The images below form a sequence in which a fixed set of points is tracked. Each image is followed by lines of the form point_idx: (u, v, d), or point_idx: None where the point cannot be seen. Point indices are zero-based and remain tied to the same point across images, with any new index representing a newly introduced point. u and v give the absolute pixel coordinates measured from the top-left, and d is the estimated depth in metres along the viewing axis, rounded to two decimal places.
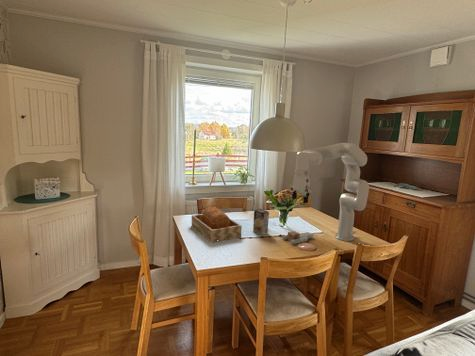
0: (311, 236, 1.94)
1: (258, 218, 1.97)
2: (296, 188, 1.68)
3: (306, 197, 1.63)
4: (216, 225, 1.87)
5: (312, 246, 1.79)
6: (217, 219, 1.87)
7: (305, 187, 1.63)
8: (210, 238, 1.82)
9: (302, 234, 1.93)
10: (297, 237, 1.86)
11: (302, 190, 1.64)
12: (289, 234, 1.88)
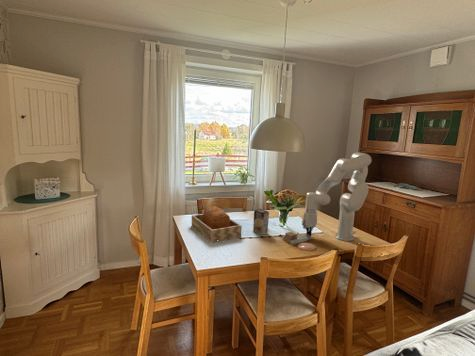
0: (309, 237, 1.91)
1: (258, 218, 1.97)
2: (310, 225, 1.92)
3: None
4: (217, 223, 1.89)
5: (312, 246, 1.79)
6: (218, 218, 1.90)
7: None
8: (210, 238, 1.82)
9: (300, 235, 1.90)
10: (295, 238, 1.85)
11: (315, 224, 1.94)
12: (287, 235, 1.86)
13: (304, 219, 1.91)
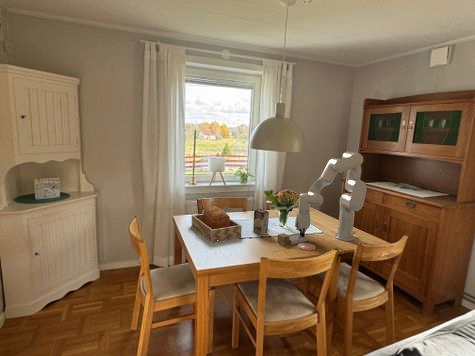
0: None
1: (258, 218, 1.97)
2: (303, 226, 1.89)
3: (304, 232, 1.92)
4: (217, 223, 1.90)
5: (312, 246, 1.79)
6: (218, 218, 1.90)
7: None
8: (210, 238, 1.82)
9: (293, 237, 1.87)
10: (287, 239, 1.82)
11: (309, 225, 1.91)
12: (279, 236, 1.83)
13: (297, 220, 1.88)
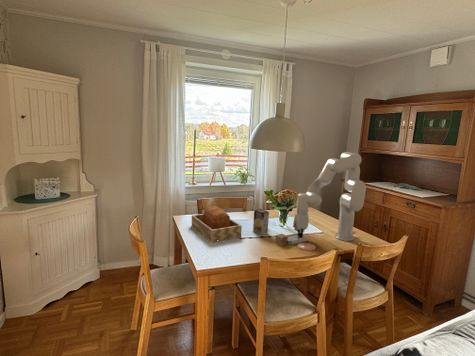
0: None
1: (258, 218, 1.97)
2: (301, 226, 1.88)
3: (302, 232, 1.91)
4: (217, 223, 1.90)
5: (312, 246, 1.79)
6: (218, 218, 1.90)
7: None
8: (210, 238, 1.82)
9: (291, 237, 1.86)
10: (285, 240, 1.81)
11: (307, 225, 1.90)
12: (277, 237, 1.82)
13: (295, 221, 1.87)
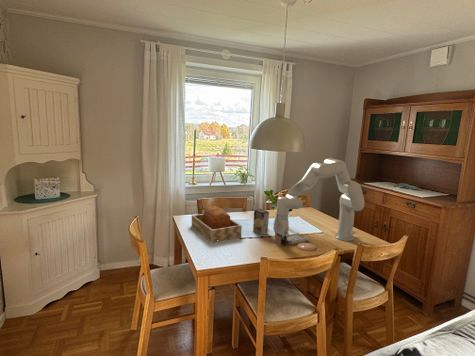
0: None
1: (258, 218, 1.97)
2: None
3: None
4: (218, 223, 1.90)
5: (312, 246, 1.79)
6: (218, 217, 1.91)
7: None
8: (210, 238, 1.82)
9: (290, 237, 1.86)
10: None
11: None
12: (276, 237, 1.82)
13: (286, 227, 1.77)
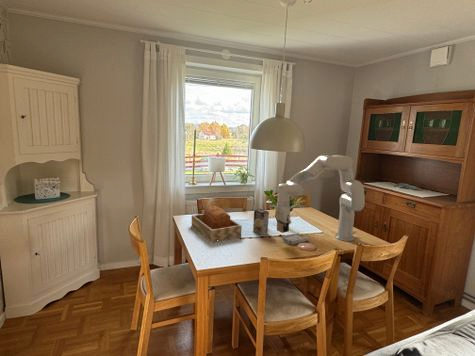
0: None
1: (258, 218, 1.97)
2: None
3: None
4: (218, 223, 1.90)
5: (312, 246, 1.79)
6: (219, 217, 1.91)
7: None
8: (210, 238, 1.82)
9: (291, 237, 1.87)
10: None
11: None
12: (278, 224, 1.81)
13: (287, 214, 1.75)
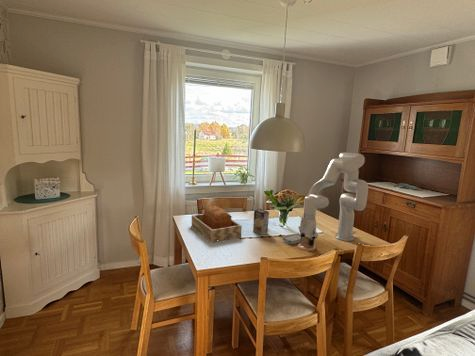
0: None
1: (258, 218, 1.97)
2: None
3: None
4: (219, 223, 1.91)
5: None
6: (220, 217, 1.91)
7: None
8: (210, 238, 1.82)
9: (291, 237, 1.87)
10: None
11: None
12: (303, 239, 1.78)
13: (314, 227, 1.72)
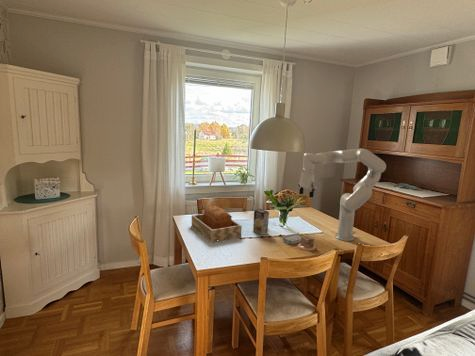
0: None
1: (258, 218, 1.97)
2: None
3: None
4: (219, 223, 1.91)
5: None
6: (220, 217, 1.91)
7: None
8: (210, 238, 1.82)
9: (291, 237, 1.87)
10: (311, 242, 1.77)
11: None
12: (303, 239, 1.78)
13: (312, 181, 1.90)
